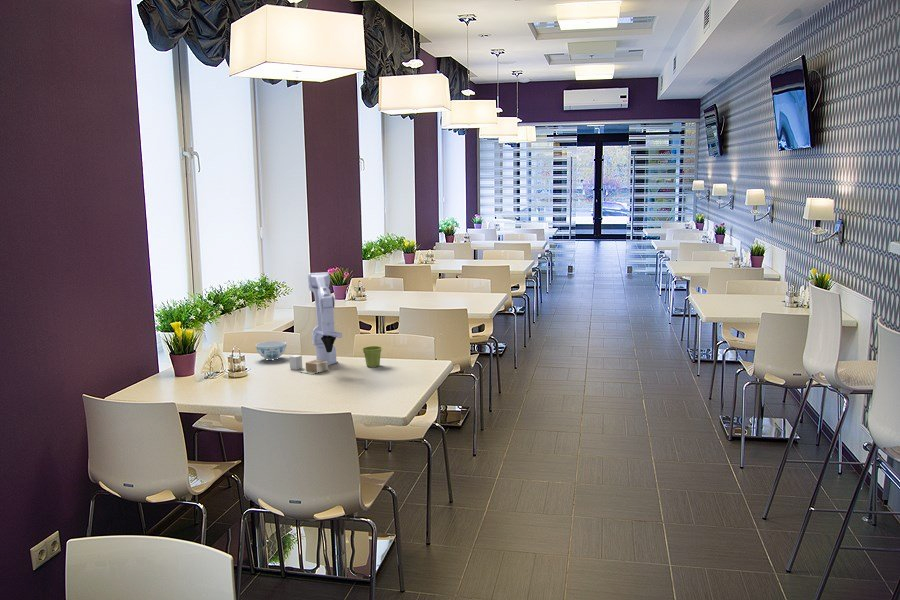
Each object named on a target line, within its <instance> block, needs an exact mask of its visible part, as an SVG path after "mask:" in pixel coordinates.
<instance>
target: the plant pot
mask: <svg viewBox="0 0 900 600" xmlns="http://www.w3.org/2000/svg"><path fill="white" fill-rule="evenodd" d="M382 349H383V347H382V346H378V345H371V346H365V347H363V348H361V350H362V352H363V355H364V358H365V360H364V361H365V365H366V367H368V368H377V367H379V366H381V365H380V364H381V353H382Z"/></svg>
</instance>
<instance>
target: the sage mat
mask: <svg viewBox="0 0 900 600" xmlns="http://www.w3.org/2000/svg"><path fill="white" fill-rule="evenodd" d="M328 369H329V370H330V368H329V367H328ZM300 372H302V373H301V374H307V373H309V375H316V374H317V373H316V372H308V371H306V369H305V370H301V371H300ZM315 373H316V374H315Z"/></svg>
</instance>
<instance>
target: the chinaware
mask: <svg viewBox="0 0 900 600" xmlns="http://www.w3.org/2000/svg"><path fill="white" fill-rule="evenodd" d="M255 348H256V352H257V353H258V354H259V355H260V356H261V357H262V358H264V360H265V359H268V360H272V359H277V358H279V359H280V357H281V356H282V355H283V354H284V352H285V351H286V348H287V342H286V341H282V340H281V341H280V340H271V341H270V340H269V341H262V342H258V343H256V344H255ZM272 361H273V360H272Z"/></svg>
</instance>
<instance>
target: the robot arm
mask: <svg viewBox="0 0 900 600" xmlns="http://www.w3.org/2000/svg"><path fill="white" fill-rule="evenodd" d="M307 279H308V281H307V282H308V289H309V291H310V292H312V293H313V296H314V302H315V303H314V304H315V317H316V323H317V324H316V326H315V327H314V328H313V329H312V332H311V340H312V341H311V342H312V345H313V346H314V347H315V356H316V359H315V360H322V361H327V364H328V366H330V365H333V364H337V363H339V362H338V361H337V349H336V346H335V345H334V344H335V341H336V339H340V338H343V332H338V331H335V316H334V314H335V312H334V311H335V310H334V309H335V297H334V295H333V294H332V293H331V289H330V284H331V277H330V272H328V271H326V272H309V273H308V275H307Z"/></svg>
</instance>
